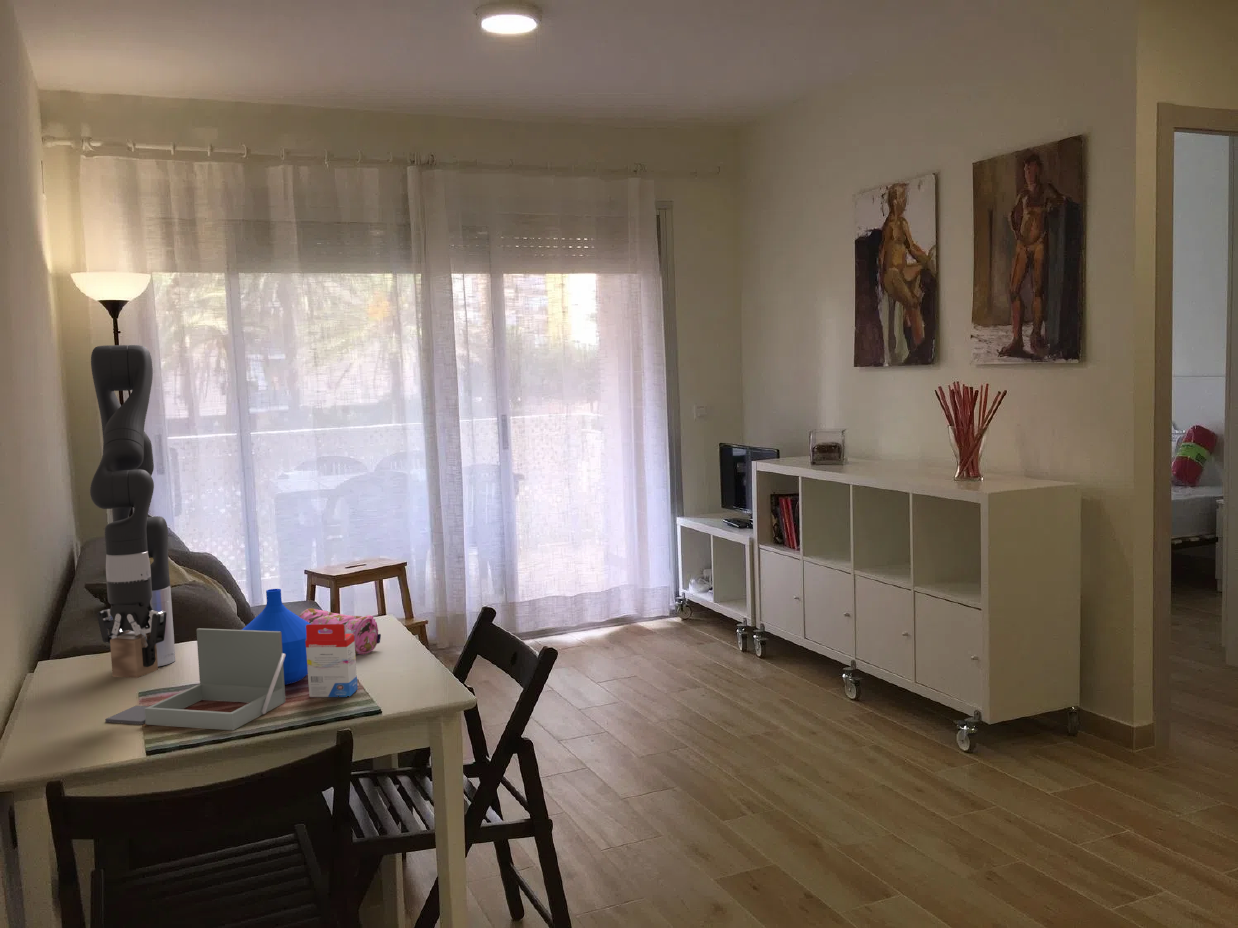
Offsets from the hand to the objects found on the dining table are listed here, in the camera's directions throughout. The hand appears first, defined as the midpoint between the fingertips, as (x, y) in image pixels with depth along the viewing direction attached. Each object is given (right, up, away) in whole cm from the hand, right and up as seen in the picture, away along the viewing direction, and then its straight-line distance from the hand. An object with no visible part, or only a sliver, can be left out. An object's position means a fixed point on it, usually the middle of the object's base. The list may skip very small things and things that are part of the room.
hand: (135, 664), depth 193 cm
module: (0, -2, 0) cm, 2 cm away
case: (+15, -9, +1) cm, 18 cm away
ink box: (+34, -8, +11) cm, 37 cm away
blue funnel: (+20, -8, +22) cm, 31 cm away
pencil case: (+25, -6, +47) cm, 53 cm away
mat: (0, -10, +1) cm, 10 cm away
